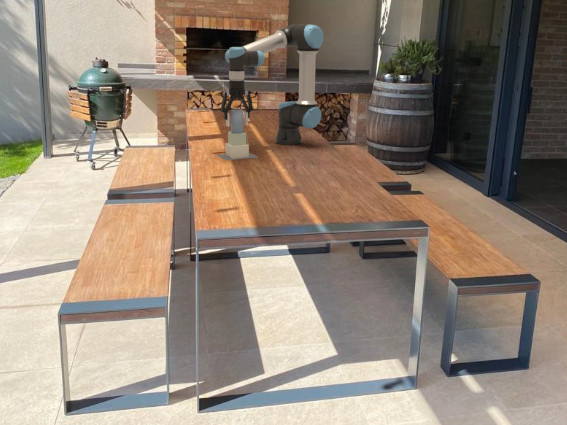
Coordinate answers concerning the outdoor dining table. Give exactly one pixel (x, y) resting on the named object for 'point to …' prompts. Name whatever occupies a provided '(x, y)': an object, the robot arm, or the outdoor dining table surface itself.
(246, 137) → the beige rounded lump
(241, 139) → the tower top
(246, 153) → the tower base
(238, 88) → the robot arm
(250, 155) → the mat
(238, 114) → the grey rounded cylinder
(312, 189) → the outdoor dining table surface
